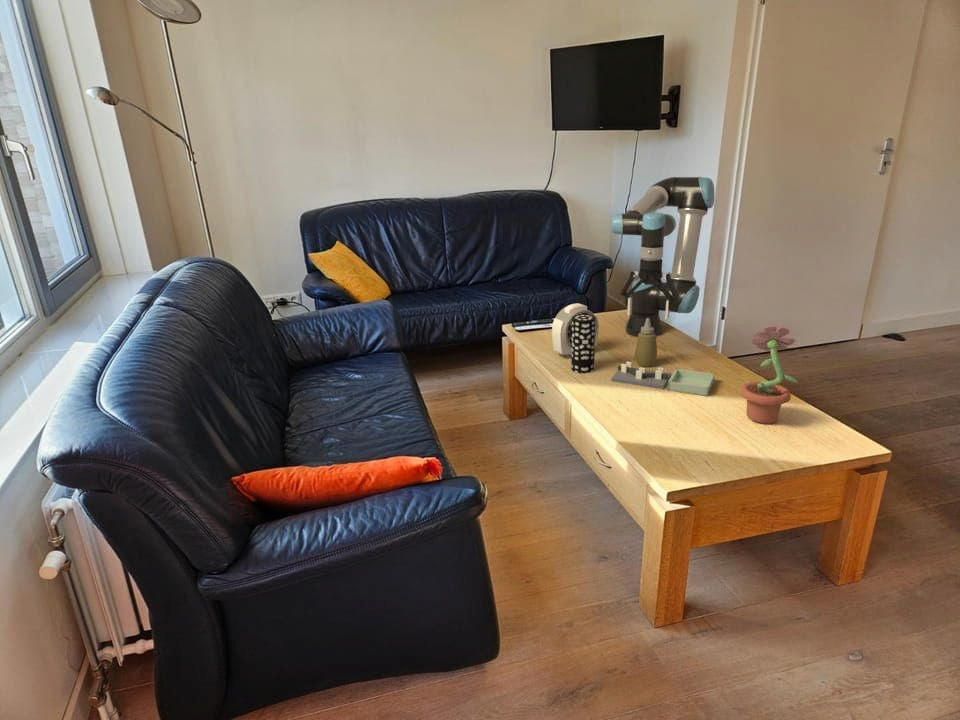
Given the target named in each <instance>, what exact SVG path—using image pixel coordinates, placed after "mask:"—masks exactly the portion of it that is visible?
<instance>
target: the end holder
mask: <svg viewBox="0 0 960 720" xmlns="http://www.w3.org/2000/svg"><path fill="white" fill-rule="evenodd" d="M714 383H715V373H712V372H711V373H710V372H705V371H704V372H703V371H695V370H689V369H682V368H675V369H674V371H673V373H672V374H671V377H670V379H669V380H668V382H667V389H666V390H667V391H670V392H676V393H682V394H691V395H697V396H704V397H708V396H709V394H710V392H711V390H712V387H713V385H714Z"/></svg>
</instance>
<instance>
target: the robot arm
mask: <svg viewBox="0 0 960 720" xmlns="http://www.w3.org/2000/svg"><path fill="white" fill-rule="evenodd" d="M715 194H716V193H715V185H714V182H713V179H712V178H710V177H702V176H694V177H693V176H687V177H686V176H673V177H667V178H664V179H661V180H660V181H658V182H655V183H654V184H653V185H651V186H650V187H649V188H648V189H647V190H646V192H645V194H644V195H643V197H641V199H639V200H638V201H637V202H636V203H635V204H634V205H633V206H631V208H630V209H628V210H627V211H626V212H625V213H622V212H621V213H615V214H614V215H613V216H612V218H611V219H612V220H611V223H610V225H611V232H612V233H613V234H616V235H622V236H623V235H624V236H625V235H626V236H640V237H641V240H640V241H641V243H640V257H641V258H640V260H639V261H640V262H639V271H637V270H635V269H633V270H631V271H630V272H629V273H630V274H629V278H628V280H627V281H626V283H625V285H623V289H622V290H621V292H620V296H623V297H624V298H625V301H624V305H625V307H627V315H626V316H629V317H628V320H627V322H626V324H625V332H626V333H627V334H628V335H630V336H632V337H638V334H639V333H640V332H641V327H643V326H644V325H645V322H646V318H650V323H651V327H653V328H654V333H655V334H656V337H657V336H660V335H661V334H662V333H663V325H662V322H661V317H660V312H661V311H662V312H665V315H664V316H665V317H664V318H665V319H664V320H668V319H669V318H670V312H671V313H678V314H690V313H692V312H693V311H694V309H695V308H696V306H697V303H698V300H699V297H700V290H701V288H700V286H699V285H697V280H696V279H695V278H694V272H695V266H696V261H697V255H698V249H699V248H698V247H699V242H700V236H701V232H702V231H701V229H702V223H703V217H705V216H706V215H707V214H708V210H709V209H711V208H713V206H714V205H715V204H714V203H715V197H716V196H715ZM665 207H674V208H675V207H677V212H678V214H679V215H680V217H679V223H678V230H677V235H676V236H677V237H676V241H675V248H674V256H673V262H672V267H671V272H669V271H668V272H666V273H663V269H662V268H663V259H662V258H663V255H664V242H665V241H664V240H665V237H667V236H669V235H672V233H673V232H674V231H675V229H676V226H677V221H676V219H675V217H674V216H673V215H671V214H668V213H663V212H657V211H658V210H661V209H663V208H665ZM637 276H638V277H639V278H638V279H635V278H636V277H637ZM662 278H664V280H666V281H665V282H663V281H662ZM634 279H635V280H634ZM630 286H631V289H630V290H629V291H628V289H629V288H630ZM627 291H628V292H627Z"/></svg>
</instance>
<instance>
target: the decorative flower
mask: <svg viewBox="0 0 960 720" xmlns="http://www.w3.org/2000/svg"><path fill="white" fill-rule="evenodd" d="M763 330H764V331H763ZM763 330H761V329H758V330H756V331H755V332H754V334H753V335H752V336H753V338H751V342H752V344H753V345H755V346H756V348H758V349H760V350H763V351H768V352H770V357H771V358H767V359H765V360H764V361H762V363H761V364H759V365H760V366H759V367H767V366H769V365H770V364H771V363H773V367H774V370H775V373H776V378H774V379H772V380H766V381H751V382H746V383H745V384H743V385H742V386H741V387H740V390H739V391H740V392H739V394H740V396H741V398H743V399H745V400H746V416H747V418H748V419H749V420H750V421H752V422H755V423H759V424H765V425H766V424H773V423H775V422H777V421H778V419H779V415H780V411H781V406H782V405H785V404H786V403H789V402H790V401H791V397H792V395H791V393H790V391H789V389H788V388H786V387H784V386H783V385H780V384H781V383H782V382H783V380H784V378H785V379H786V380H787V381H789V382H792V383H797V384H798V383H799V382H798V381H797V380H796V379H795V378H794V377H793V376H790V375H787V374H784V371H783V368H782V366H781V362H780V359H779V353H778V351H781V350H786V349H789V346H791V345H793V344H794V343H795V342H796V339H795V338H789V337H788V336H786V335H788V334H790V330H789V329H788V328H785V327H782V326H781V327H779V328H778V327H777V326H774V325H769V326H765V327H764V329H763Z"/></svg>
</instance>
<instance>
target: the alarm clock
mask: <svg viewBox="0 0 960 720" xmlns="http://www.w3.org/2000/svg"><path fill="white" fill-rule="evenodd" d="M579 314H588V315H593V316H595V348H596V347H597V344H598V338H599V326H600V324H599V318H598V315H597V314H595V313H593V312H592V311H591V310H588V306H587V305H584V304H581V303H578V302H577V303H572V304H569V305H567V306H565V307H563V308H562V309H561V310H559V312H558V313H557V314H556V316H555V318H554V320H553V322H552V325H551V326H552V327H551V337H552V338H551V339H552V346H553V351H555V352H557V353H558V354H560V356H562V357H563V358H566V359H571V358H572V317H573V316H574V315H579Z"/></svg>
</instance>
